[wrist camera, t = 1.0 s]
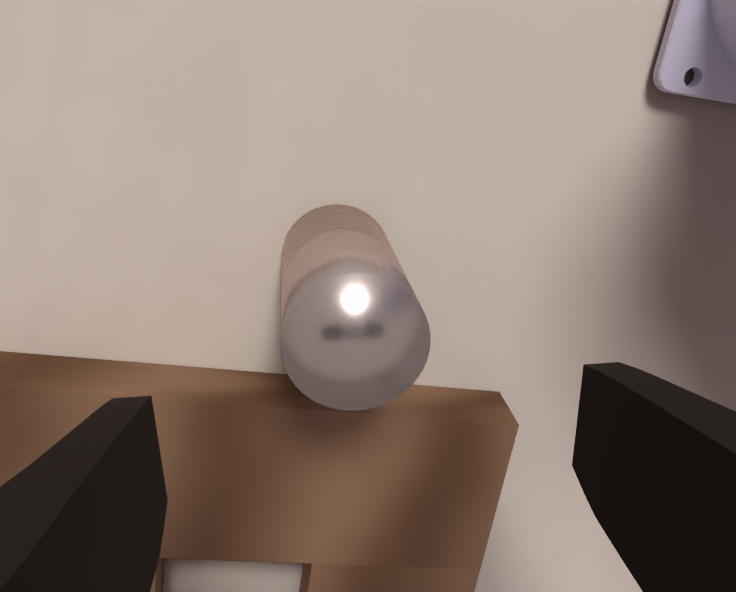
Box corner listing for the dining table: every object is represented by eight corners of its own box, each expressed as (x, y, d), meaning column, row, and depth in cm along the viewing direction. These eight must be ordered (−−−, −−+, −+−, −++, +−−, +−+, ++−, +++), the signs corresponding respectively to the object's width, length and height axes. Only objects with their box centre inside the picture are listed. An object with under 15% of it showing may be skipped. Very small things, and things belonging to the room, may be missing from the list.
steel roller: (397, 211, 19) (443, 283, 14) (380, 312, 21) (415, 415, 15) (287, 198, 19) (289, 266, 13) (276, 301, 20) (273, 405, 14)
